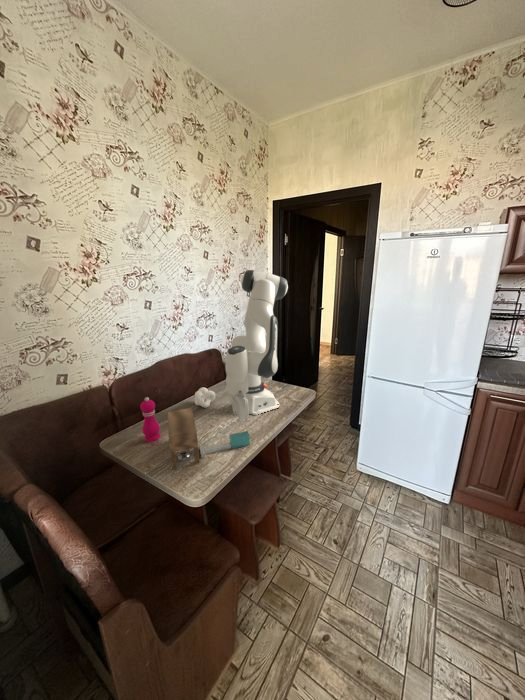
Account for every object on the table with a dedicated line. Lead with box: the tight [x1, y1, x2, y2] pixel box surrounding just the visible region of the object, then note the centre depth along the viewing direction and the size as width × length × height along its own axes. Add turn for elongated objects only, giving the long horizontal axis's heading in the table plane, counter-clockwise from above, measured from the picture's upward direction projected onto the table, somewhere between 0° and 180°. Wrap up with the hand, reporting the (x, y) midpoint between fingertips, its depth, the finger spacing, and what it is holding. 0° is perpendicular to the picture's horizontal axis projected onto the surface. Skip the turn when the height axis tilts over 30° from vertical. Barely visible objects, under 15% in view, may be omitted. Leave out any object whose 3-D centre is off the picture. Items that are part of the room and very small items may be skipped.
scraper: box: [198, 430, 251, 459], centre depth 116 cm, size 20×6×5 cm, turn 109°
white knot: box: [194, 387, 216, 409], centre depth 155 cm, size 11×12×9 cm
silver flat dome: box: [177, 451, 190, 462], centre depth 111 cm, size 4×4×1 cm
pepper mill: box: [140, 396, 161, 443], centre depth 122 cm, size 7×7×20 cm
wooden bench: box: [167, 407, 201, 470], centre depth 113 cm, size 10×20×14 cm, turn 19°
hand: (238, 418), depth 114 cm, fingers open, 8 cm apart
